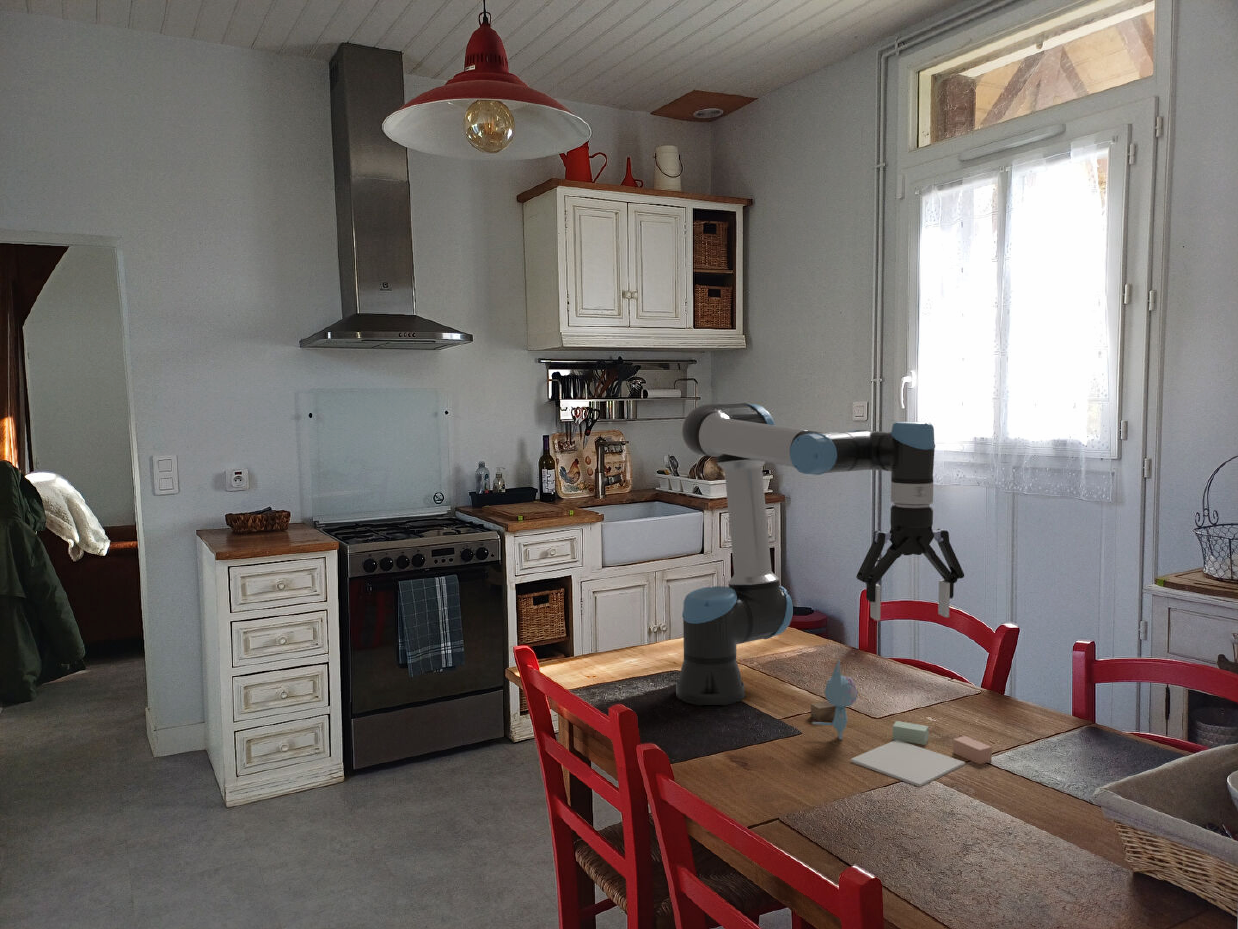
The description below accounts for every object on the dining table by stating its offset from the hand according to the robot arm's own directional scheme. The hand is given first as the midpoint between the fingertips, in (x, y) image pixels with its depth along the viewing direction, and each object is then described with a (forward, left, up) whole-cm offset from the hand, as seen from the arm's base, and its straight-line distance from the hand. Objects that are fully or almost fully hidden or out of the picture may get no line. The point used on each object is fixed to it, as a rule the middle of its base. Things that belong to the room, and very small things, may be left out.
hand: (909, 617), depth 169 cm
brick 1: (-18, -1, -24) cm, 30 cm away
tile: (+6, -9, -24) cm, 26 cm away
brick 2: (0, +1, -24) cm, 24 cm away
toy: (-10, -9, -24) cm, 28 cm away
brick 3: (+12, +2, -24) cm, 27 cm away
